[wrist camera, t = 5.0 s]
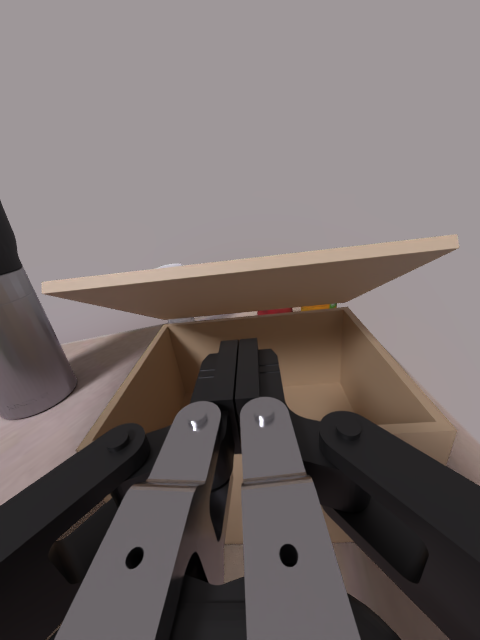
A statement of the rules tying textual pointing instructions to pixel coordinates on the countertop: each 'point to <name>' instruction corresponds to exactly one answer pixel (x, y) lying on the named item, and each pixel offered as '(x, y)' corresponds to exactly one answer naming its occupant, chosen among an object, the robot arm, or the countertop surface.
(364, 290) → the carton flap
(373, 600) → the countertop surface
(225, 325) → the carton
